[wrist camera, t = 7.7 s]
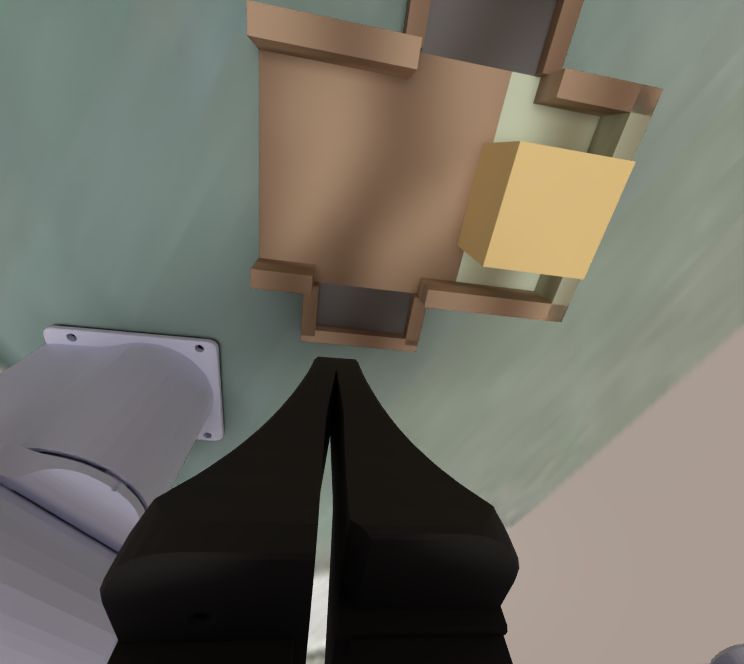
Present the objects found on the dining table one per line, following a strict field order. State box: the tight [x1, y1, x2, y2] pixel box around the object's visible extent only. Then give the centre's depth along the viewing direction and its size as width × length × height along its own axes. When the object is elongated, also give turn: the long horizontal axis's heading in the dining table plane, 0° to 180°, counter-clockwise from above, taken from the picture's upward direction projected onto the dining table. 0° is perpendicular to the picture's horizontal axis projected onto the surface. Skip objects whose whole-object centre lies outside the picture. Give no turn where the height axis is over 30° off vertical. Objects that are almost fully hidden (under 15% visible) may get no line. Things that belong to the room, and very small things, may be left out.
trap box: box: [247, 0, 663, 352], centre depth 17 cm, size 17×18×2 cm
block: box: [457, 141, 635, 279], centre depth 16 cm, size 5×5×4 cm
